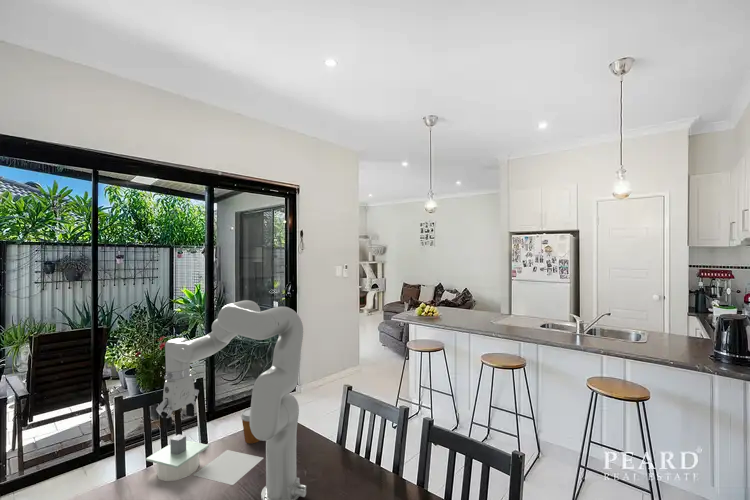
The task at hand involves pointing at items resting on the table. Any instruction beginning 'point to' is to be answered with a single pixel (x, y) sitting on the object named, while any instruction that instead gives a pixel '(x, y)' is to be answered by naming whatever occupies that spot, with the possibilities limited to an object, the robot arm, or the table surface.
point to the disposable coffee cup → (247, 427)
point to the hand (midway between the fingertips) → (179, 421)
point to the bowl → (177, 470)
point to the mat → (228, 467)
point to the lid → (177, 452)
